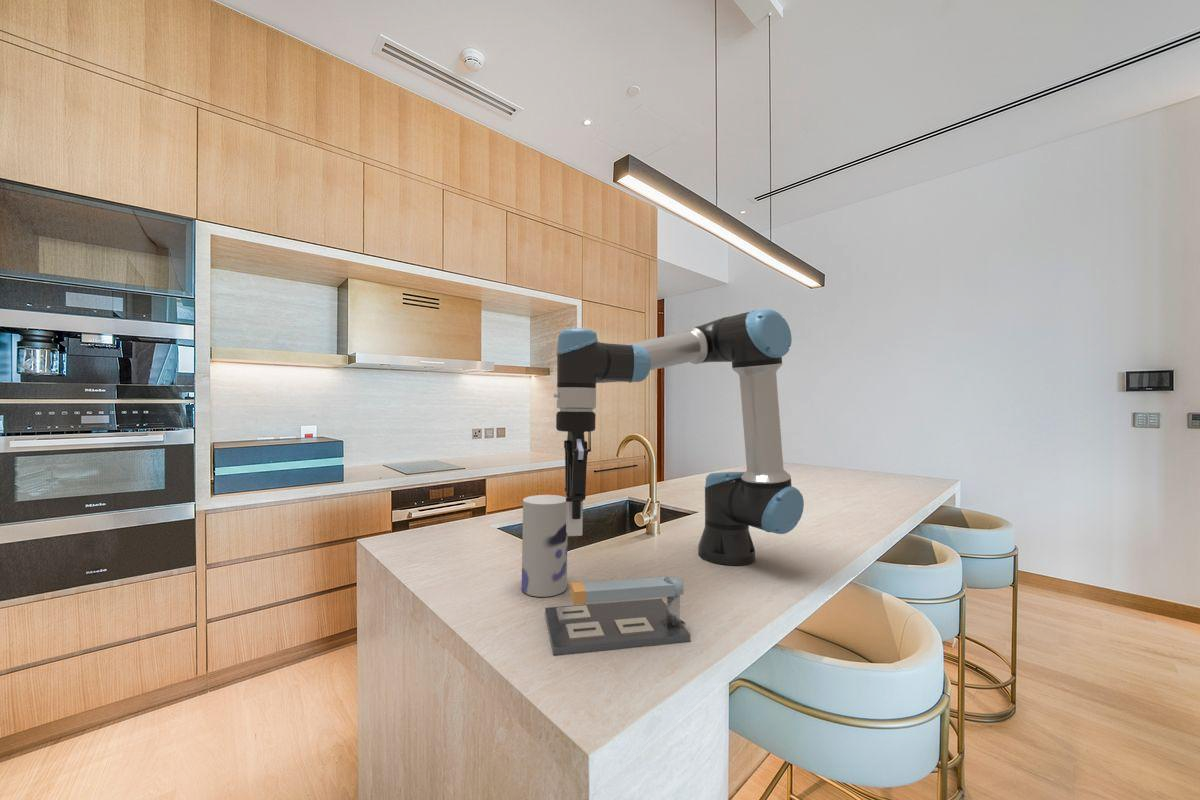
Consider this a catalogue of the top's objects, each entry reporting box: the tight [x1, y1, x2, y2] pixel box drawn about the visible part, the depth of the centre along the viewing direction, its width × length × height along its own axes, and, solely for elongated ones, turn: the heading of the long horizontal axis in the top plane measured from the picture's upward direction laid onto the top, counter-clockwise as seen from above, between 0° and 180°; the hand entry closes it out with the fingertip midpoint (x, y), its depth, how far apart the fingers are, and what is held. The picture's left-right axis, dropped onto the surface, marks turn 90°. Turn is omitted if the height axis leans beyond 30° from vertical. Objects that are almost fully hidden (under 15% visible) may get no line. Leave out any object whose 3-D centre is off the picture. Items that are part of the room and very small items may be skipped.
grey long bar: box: [570, 576, 685, 605], centre depth 82 cm, size 21×4×2 cm, turn 102°
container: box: [521, 494, 569, 598], centre depth 102 cm, size 10×10×20 cm
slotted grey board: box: [544, 598, 692, 656], centre depth 84 cm, size 24×15×2 cm, turn 102°
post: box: [661, 595, 686, 629], centre depth 84 cm, size 4×4×7 cm
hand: (574, 533), depth 87 cm, fingers closed
